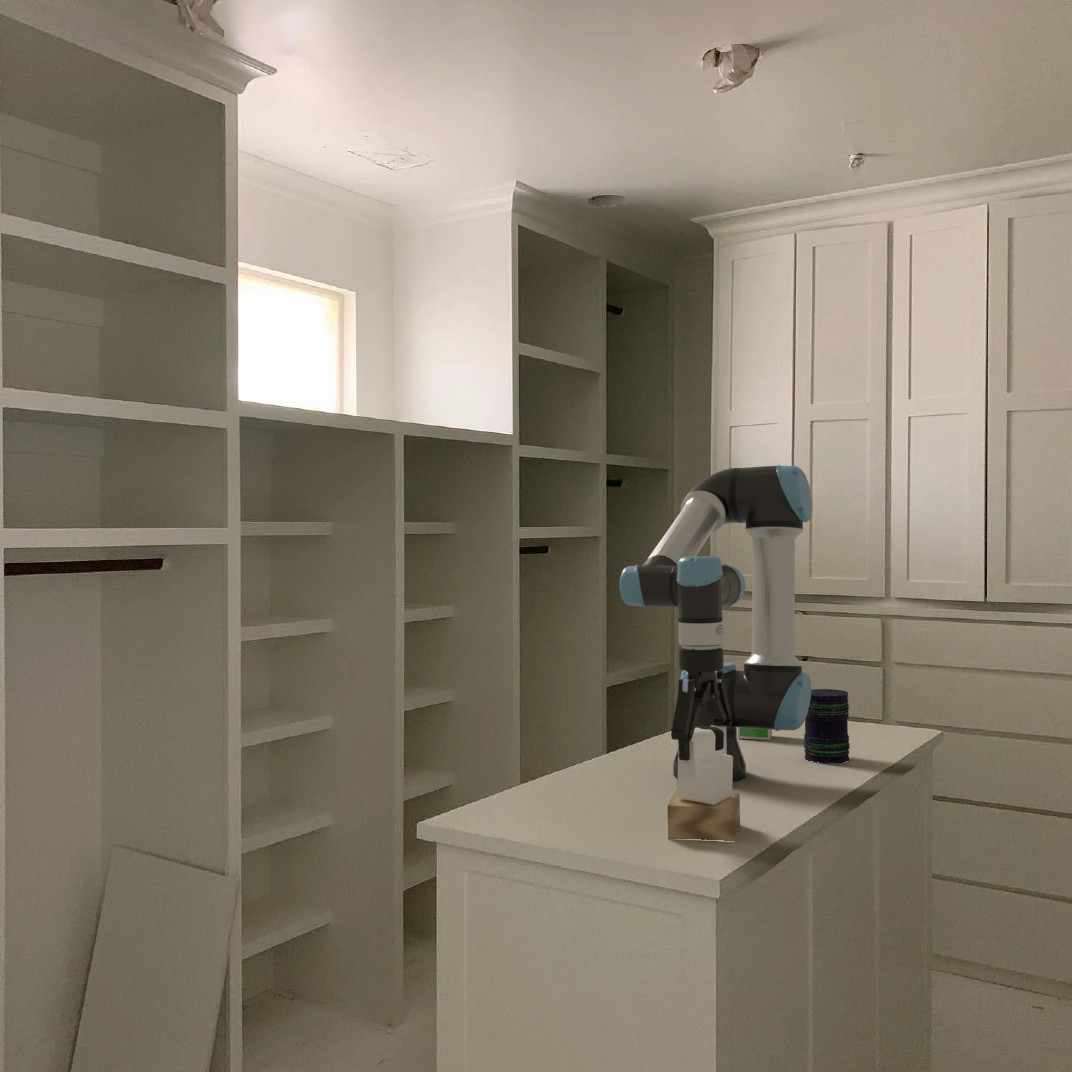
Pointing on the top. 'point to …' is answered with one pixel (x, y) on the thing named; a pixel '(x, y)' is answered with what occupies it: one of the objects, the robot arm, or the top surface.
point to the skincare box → (754, 733)
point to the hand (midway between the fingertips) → (703, 770)
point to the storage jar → (827, 727)
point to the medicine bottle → (708, 769)
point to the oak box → (704, 819)
